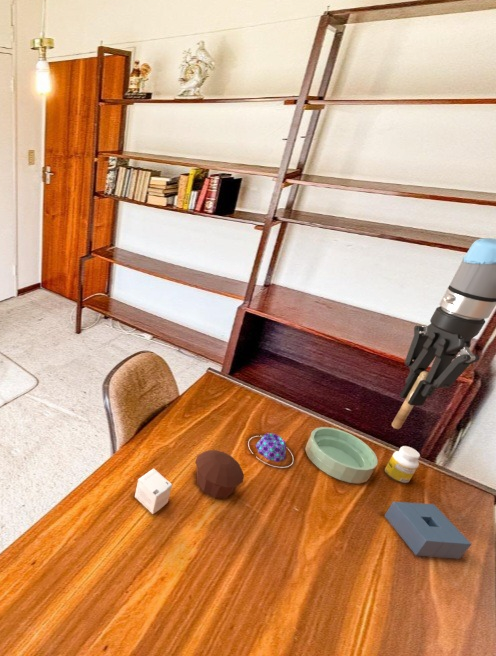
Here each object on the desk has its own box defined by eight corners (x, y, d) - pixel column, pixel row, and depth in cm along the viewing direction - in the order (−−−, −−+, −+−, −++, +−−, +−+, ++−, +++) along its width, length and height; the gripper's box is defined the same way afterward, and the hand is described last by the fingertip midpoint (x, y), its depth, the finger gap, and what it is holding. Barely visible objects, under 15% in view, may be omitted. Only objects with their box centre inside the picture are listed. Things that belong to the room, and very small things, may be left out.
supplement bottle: (385, 465, 114) (400, 440, 110) (409, 478, 110) (425, 452, 106) (381, 475, 111) (395, 450, 106) (405, 488, 107) (421, 463, 103)
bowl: (345, 443, 121) (352, 428, 119) (382, 487, 107) (392, 471, 105) (294, 440, 122) (300, 425, 119) (324, 483, 108) (332, 467, 105)
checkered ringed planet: (300, 472, 111) (306, 459, 108) (255, 465, 112) (260, 452, 110) (283, 440, 121) (288, 427, 119) (242, 435, 123) (246, 422, 121)
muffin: (190, 496, 102) (198, 468, 98) (190, 463, 112) (197, 437, 108) (239, 510, 99) (250, 483, 95) (235, 476, 109) (244, 449, 104)
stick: (395, 425, 97) (428, 369, 90) (401, 430, 95) (434, 374, 88) (388, 424, 97) (420, 369, 90) (393, 430, 95) (426, 374, 88)
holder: (422, 520, 99) (434, 504, 96) (458, 560, 90) (471, 544, 87) (382, 517, 99) (393, 501, 96) (414, 557, 90) (426, 541, 88)
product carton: (149, 487, 104) (153, 467, 101) (167, 504, 100) (173, 484, 97) (133, 498, 101) (137, 478, 98) (152, 516, 97) (157, 496, 94)
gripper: (414, 296, 89) (371, 380, 99) (477, 329, 76) (420, 422, 86) (448, 298, 89) (401, 381, 99) (517, 331, 76) (455, 424, 86)
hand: (410, 400), depth 92 cm, fingers closed on stick, 2 cm apart
